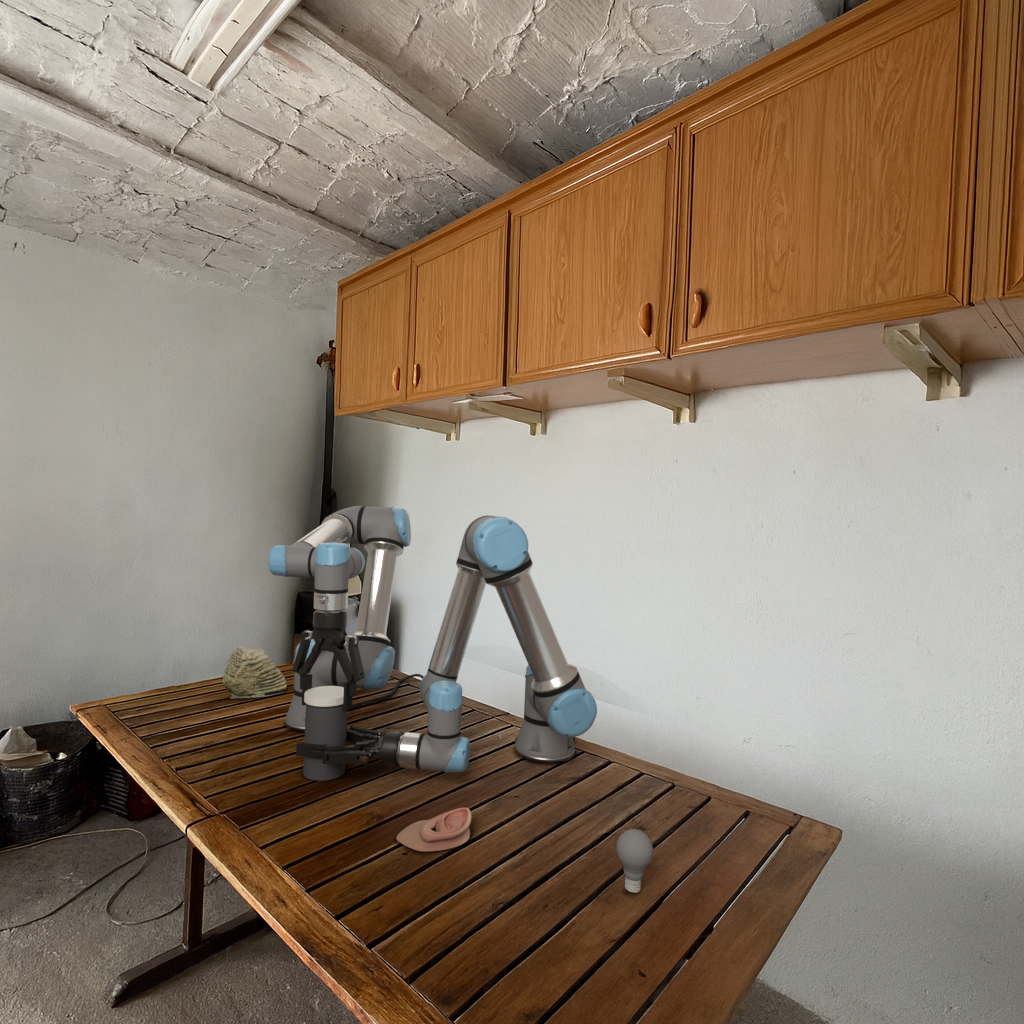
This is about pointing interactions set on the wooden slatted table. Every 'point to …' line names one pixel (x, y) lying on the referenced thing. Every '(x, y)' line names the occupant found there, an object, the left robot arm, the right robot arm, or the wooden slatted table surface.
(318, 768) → the jar
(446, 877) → the wooden slatted table surface
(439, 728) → the right robot arm
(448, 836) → the anatomical model
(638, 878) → the light bulb
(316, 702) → the lid
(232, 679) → the fossil
